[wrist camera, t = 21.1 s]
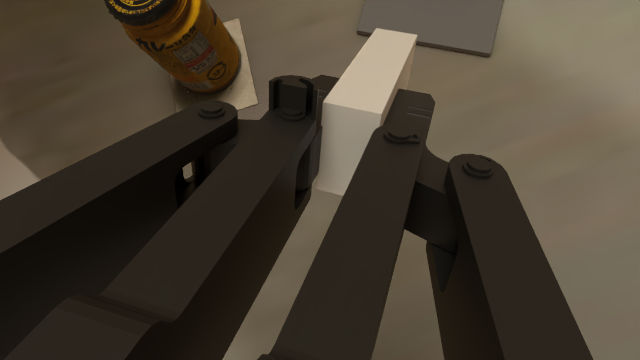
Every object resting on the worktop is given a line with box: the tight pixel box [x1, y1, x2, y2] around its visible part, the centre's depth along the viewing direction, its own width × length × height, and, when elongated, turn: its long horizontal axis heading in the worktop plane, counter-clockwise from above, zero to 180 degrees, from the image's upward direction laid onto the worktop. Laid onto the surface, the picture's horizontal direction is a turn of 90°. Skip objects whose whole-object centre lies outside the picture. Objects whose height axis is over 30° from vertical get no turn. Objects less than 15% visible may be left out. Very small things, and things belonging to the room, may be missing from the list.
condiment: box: [105, 0, 258, 113], centre depth 35 cm, size 7×8×12 cm
